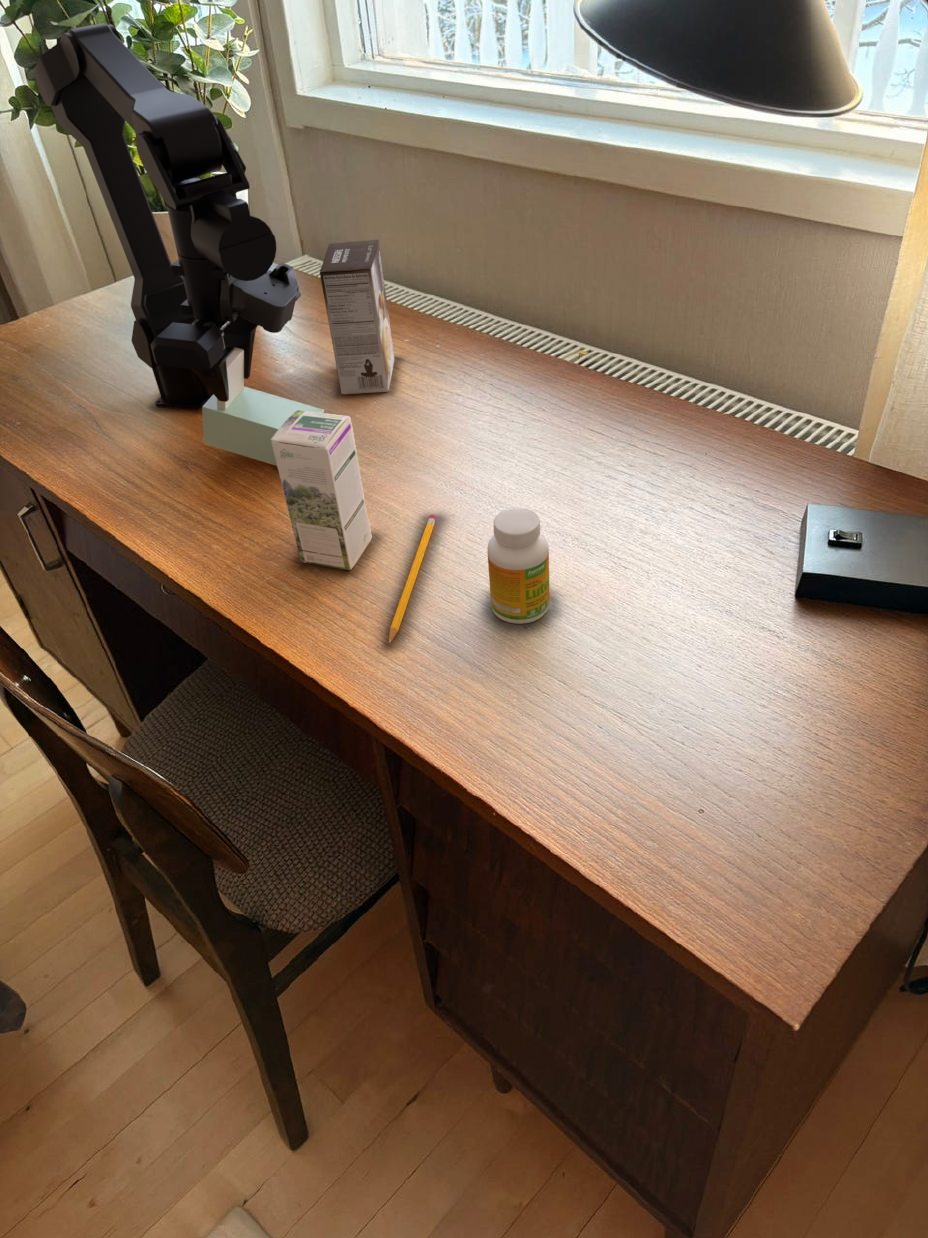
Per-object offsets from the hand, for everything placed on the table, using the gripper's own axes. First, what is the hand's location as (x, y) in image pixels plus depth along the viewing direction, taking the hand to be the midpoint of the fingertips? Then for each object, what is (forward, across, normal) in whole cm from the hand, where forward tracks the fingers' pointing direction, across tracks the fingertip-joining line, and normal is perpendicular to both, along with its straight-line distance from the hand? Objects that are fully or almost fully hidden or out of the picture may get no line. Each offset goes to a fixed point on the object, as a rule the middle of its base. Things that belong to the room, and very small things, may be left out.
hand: (234, 389), depth 105 cm
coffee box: (+8, +20, -8) cm, 23 cm away
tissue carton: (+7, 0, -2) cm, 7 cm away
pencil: (+7, -18, -26) cm, 33 cm away
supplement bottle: (+7, -21, -37) cm, 43 cm away
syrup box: (+8, -16, -17) cm, 25 cm away
